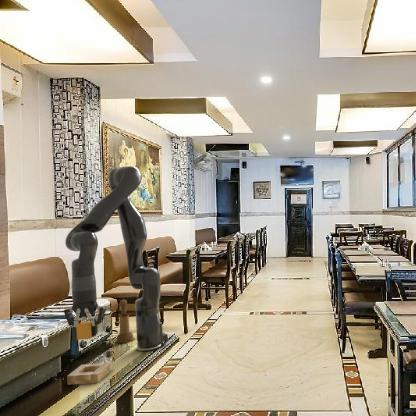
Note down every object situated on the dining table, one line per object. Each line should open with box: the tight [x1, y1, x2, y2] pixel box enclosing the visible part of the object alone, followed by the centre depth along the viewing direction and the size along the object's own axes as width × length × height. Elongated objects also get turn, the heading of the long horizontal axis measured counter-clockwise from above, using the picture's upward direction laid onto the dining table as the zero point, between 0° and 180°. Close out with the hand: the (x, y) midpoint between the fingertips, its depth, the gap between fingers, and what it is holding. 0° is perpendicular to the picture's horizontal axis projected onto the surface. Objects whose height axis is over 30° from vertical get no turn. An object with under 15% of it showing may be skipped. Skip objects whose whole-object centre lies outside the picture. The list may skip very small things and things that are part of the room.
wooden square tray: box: [66, 362, 111, 386], centre depth 149 cm, size 10×10×3 cm
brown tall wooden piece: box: [116, 299, 134, 344], centre depth 188 cm, size 7×6×18 cm
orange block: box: [76, 320, 93, 340], centre depth 150 cm, size 4×4×5 cm
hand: (86, 336), depth 150 cm, fingers closed on orange block, 4 cm apart
